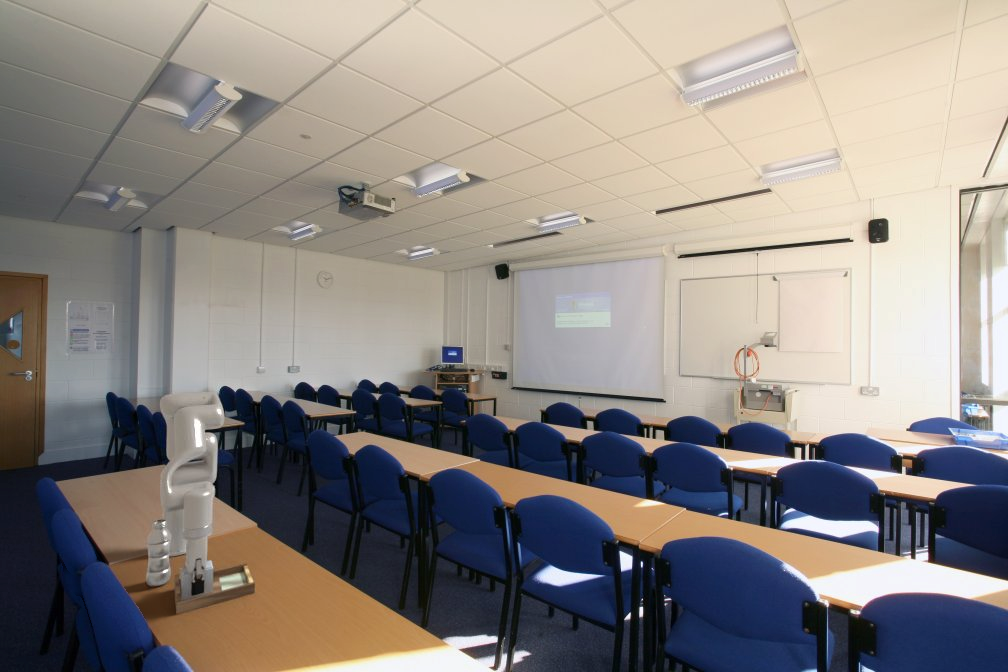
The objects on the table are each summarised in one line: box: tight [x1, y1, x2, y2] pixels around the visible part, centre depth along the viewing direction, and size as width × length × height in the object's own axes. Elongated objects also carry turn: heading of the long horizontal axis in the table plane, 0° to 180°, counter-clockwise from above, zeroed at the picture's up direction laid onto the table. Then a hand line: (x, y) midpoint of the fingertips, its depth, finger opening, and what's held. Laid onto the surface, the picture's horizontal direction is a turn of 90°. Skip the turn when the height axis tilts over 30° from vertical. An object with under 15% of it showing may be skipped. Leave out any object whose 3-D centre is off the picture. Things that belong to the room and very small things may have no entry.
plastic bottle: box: [145, 518, 172, 587], centre depth 151 cm, size 6×7×20 cm
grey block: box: [179, 559, 214, 601], centre depth 144 cm, size 6×8×8 cm
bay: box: [173, 562, 256, 616], centre depth 147 cm, size 16×20×5 cm
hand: (196, 587), depth 144 cm, fingers open, 8 cm apart
